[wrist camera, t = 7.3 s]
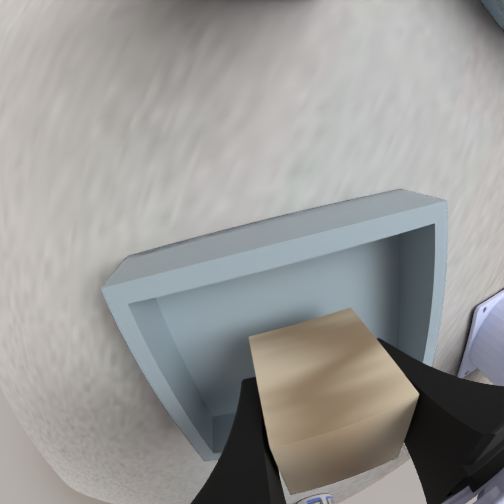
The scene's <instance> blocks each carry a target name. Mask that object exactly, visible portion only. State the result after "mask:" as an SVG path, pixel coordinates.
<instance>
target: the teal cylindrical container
mask: <svg viewBox="0 0 504 504" xmlns="http://www.w3.org/2000/svg"><path fill="white" fill-rule="evenodd" d="M481 2H482V3H483V5H484V6H485V8H486V9H487V10H488V12H489V13H490V15H491V16H492V17H493V19H494V20H495V21H496V22H497V24H498V25H499V26H500V27H501V28H502V29H503V30H504V0H481Z"/></svg>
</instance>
